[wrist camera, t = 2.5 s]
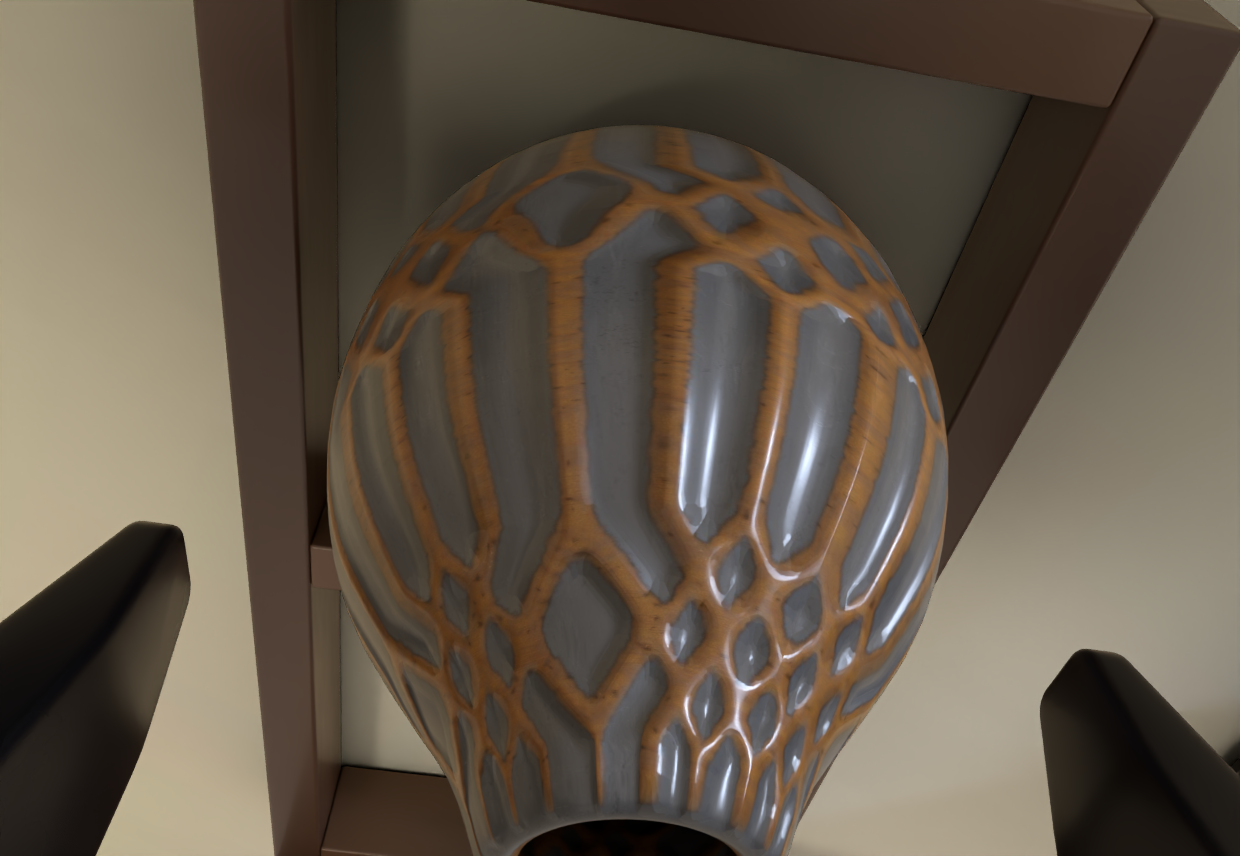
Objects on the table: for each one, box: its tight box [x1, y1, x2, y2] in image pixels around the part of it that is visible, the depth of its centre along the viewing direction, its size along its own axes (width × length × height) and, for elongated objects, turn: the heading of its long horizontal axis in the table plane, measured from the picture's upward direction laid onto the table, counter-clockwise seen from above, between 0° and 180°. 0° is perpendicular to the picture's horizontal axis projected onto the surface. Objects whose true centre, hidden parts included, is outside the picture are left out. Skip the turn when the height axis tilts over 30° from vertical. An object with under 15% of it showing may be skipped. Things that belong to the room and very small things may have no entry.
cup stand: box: [193, 0, 1240, 856], centre depth 15 cm, size 11×21×7 cm, turn 170°
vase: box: [327, 125, 948, 856], centre depth 11 cm, size 7×7×9 cm
